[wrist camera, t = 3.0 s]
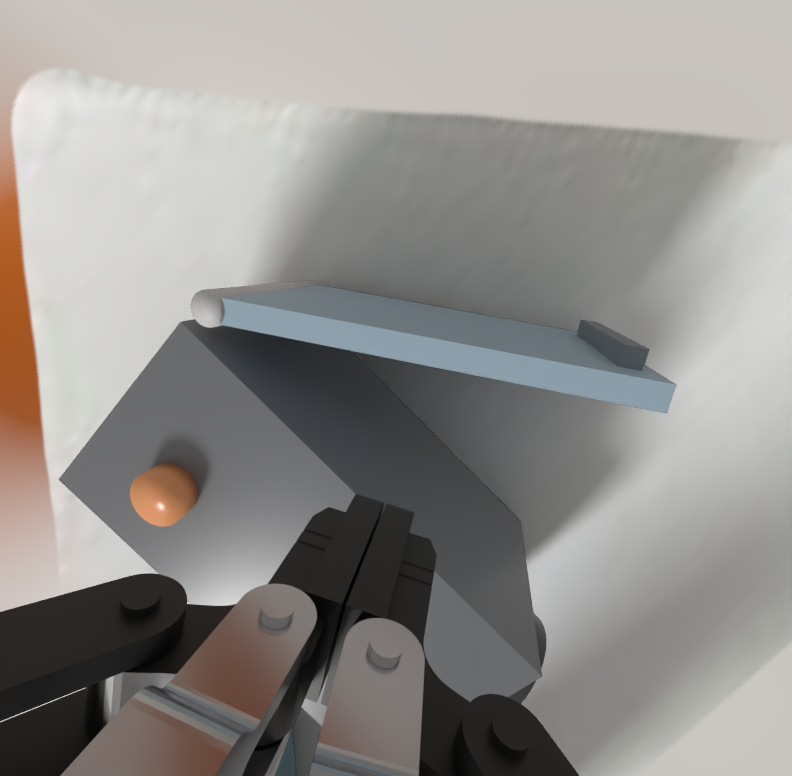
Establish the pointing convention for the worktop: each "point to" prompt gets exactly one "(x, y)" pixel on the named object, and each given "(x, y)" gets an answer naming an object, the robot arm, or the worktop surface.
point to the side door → (445, 339)
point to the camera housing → (304, 490)
